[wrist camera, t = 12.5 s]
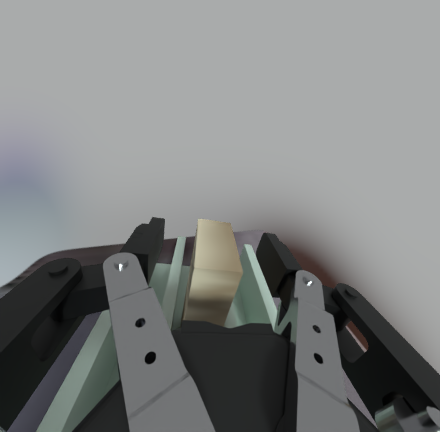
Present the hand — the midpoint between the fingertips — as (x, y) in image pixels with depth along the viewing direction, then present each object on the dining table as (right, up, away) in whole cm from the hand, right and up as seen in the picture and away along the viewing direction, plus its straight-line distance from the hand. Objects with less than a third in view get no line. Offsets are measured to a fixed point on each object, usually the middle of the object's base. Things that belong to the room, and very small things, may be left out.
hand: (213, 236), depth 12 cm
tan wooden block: (-2, -11, +4) cm, 12 cm away
